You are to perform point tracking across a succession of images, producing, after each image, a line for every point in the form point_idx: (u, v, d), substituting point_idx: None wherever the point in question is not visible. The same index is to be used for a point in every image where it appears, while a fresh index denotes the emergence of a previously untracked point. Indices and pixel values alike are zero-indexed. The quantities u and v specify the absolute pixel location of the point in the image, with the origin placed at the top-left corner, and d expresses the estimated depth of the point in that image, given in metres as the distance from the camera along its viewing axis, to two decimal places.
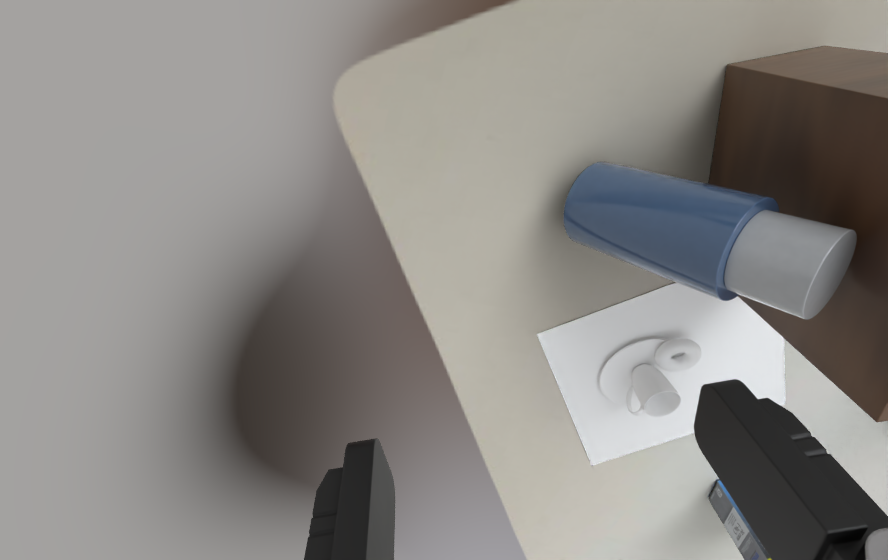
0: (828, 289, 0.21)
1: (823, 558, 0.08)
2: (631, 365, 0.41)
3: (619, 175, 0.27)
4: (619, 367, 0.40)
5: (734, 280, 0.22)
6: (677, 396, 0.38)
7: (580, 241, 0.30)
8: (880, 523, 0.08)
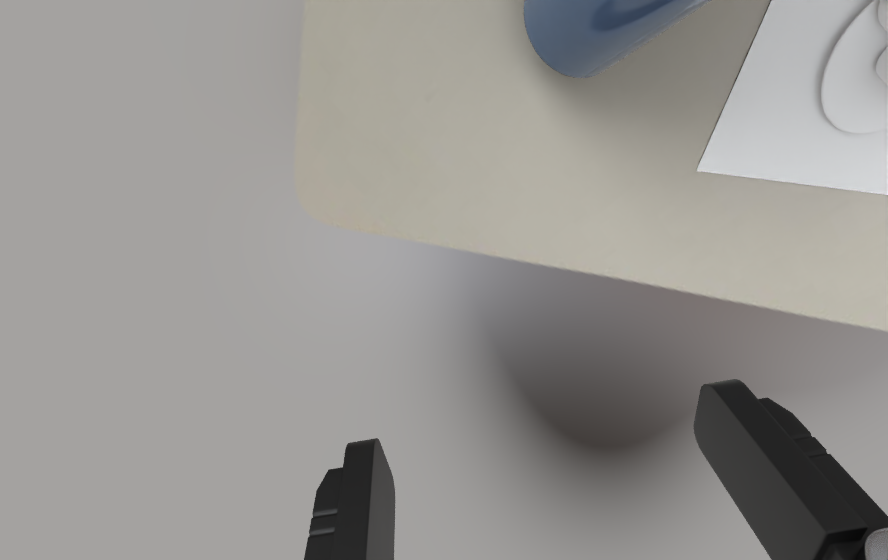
0: None
1: (823, 558, 0.08)
2: (866, 71, 0.25)
3: None
4: (850, 90, 0.26)
5: None
6: None
7: (601, 68, 0.21)
8: (880, 523, 0.08)
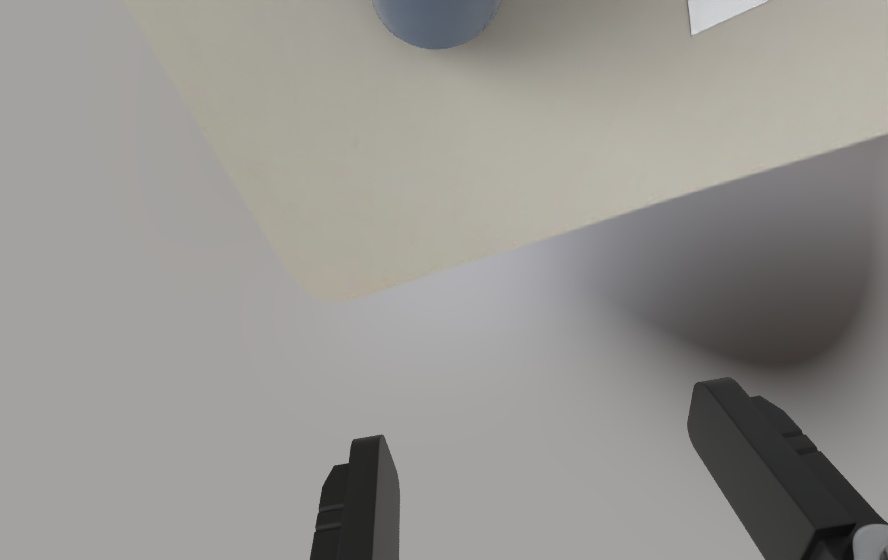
0: None
1: (813, 553, 0.08)
2: None
3: None
4: None
5: None
6: None
7: (484, 16, 0.18)
8: (869, 519, 0.08)
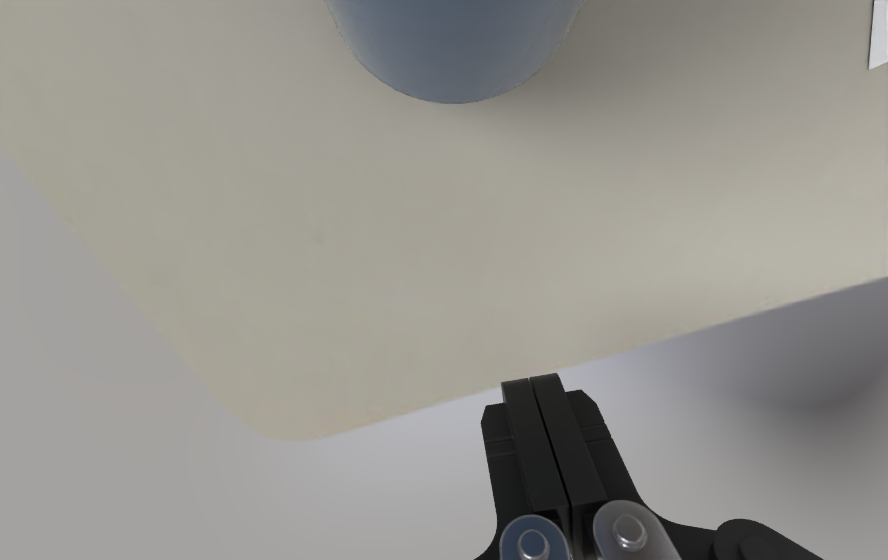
0: None
1: (582, 528, 0.09)
2: None
3: None
4: None
5: None
6: None
7: (550, 47, 0.09)
8: (627, 497, 0.09)
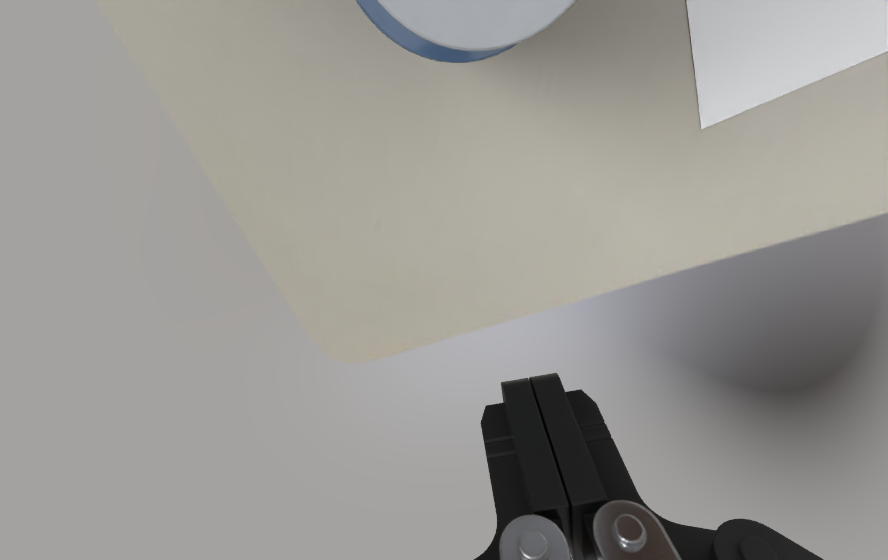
0: None
1: (582, 529, 0.09)
2: None
3: None
4: None
5: None
6: None
7: None
8: (627, 497, 0.09)
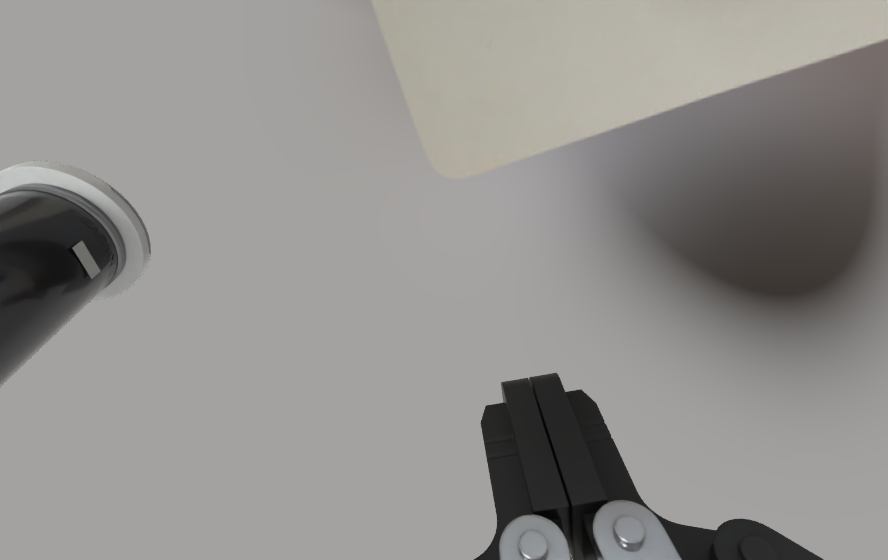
0: None
1: (582, 528, 0.09)
2: None
3: None
4: None
5: None
6: None
7: None
8: (627, 497, 0.09)
